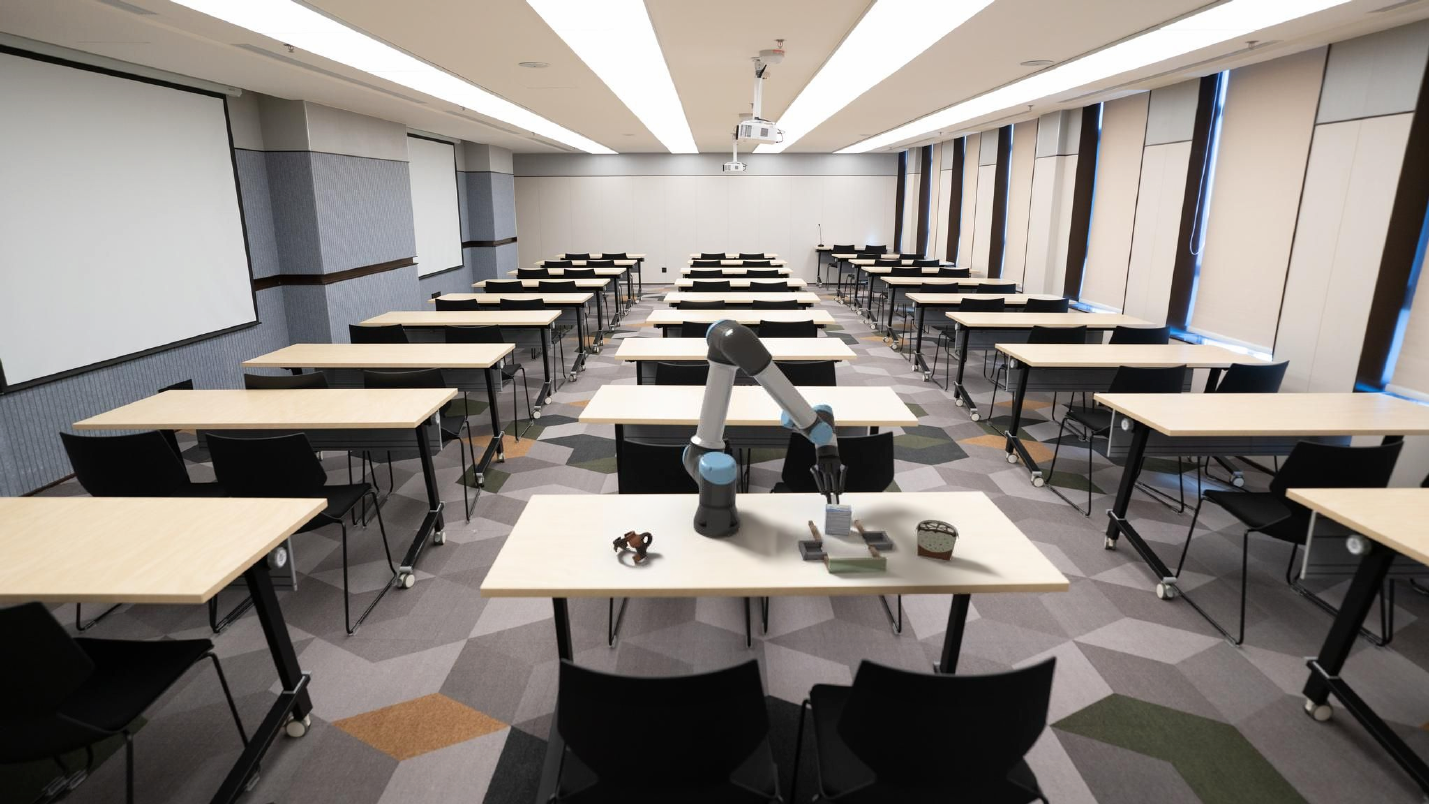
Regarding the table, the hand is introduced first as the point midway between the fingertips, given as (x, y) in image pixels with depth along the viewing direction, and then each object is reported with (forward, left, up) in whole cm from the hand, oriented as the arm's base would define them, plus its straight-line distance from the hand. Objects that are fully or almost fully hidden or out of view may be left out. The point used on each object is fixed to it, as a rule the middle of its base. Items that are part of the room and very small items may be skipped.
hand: (834, 514), depth 222 cm
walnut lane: (-1, -15, -3) cm, 16 cm away
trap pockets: (-1, -17, -3) cm, 17 cm away
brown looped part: (-65, -18, -3) cm, 67 cm away
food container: (+25, -21, -3) cm, 33 cm away
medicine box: (-1, -6, -3) cm, 7 cm away
